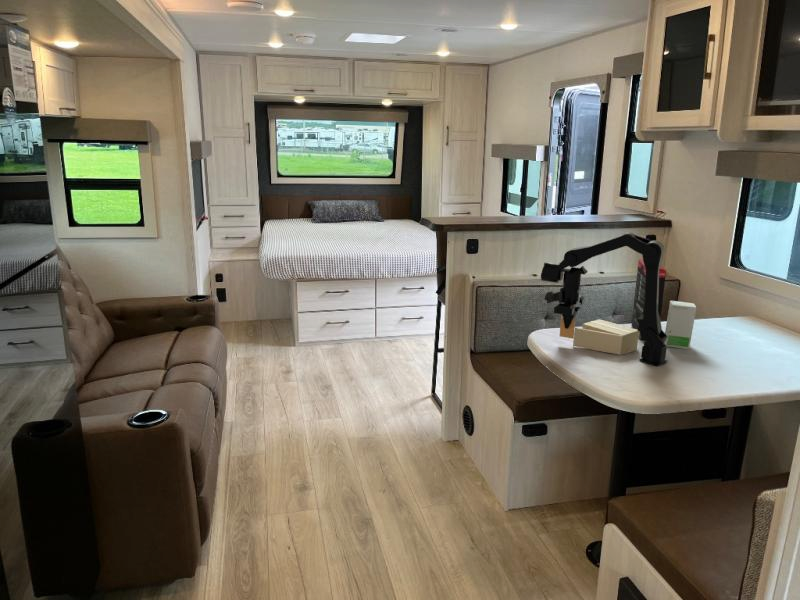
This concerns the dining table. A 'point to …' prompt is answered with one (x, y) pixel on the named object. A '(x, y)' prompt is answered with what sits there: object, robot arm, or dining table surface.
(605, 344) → the carton flap
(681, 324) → the skincare box
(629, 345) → the carton
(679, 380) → the dining table surface
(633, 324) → the graphics card box
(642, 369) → the dining table surface
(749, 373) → the dining table surface
